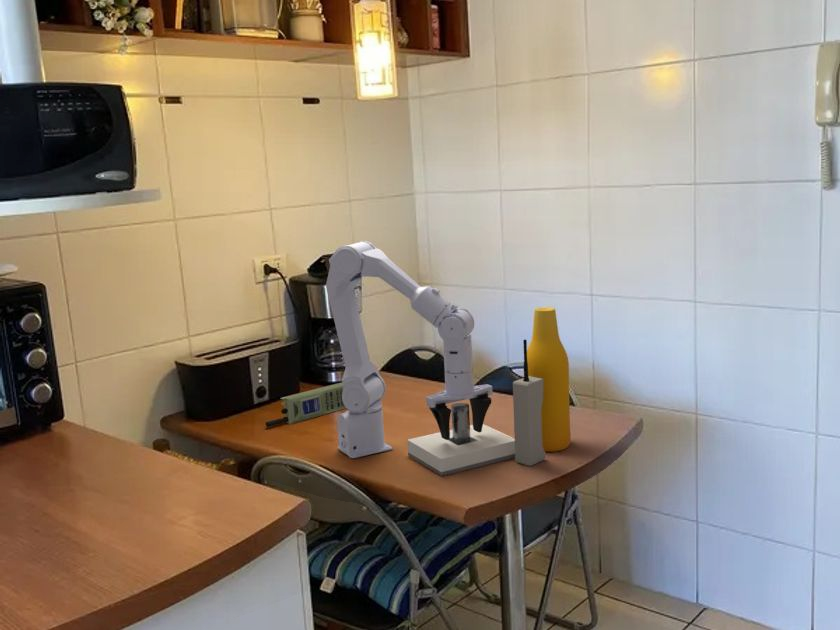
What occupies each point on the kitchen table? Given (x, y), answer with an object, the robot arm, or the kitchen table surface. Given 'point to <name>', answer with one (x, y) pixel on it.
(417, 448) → the grey hole plate
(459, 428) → the steel pin
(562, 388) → the beer bottle
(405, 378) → the kitchen table surface
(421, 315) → the robot arm
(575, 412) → the kitchen table surface
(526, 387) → the vintage mobile phone
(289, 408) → the handheld radio
